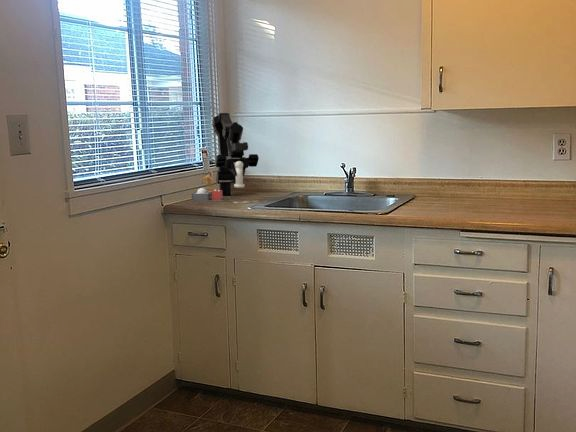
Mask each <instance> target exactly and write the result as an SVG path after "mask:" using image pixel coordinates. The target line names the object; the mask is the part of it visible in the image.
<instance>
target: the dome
mask: <svg viewBox="0 0 576 432" xmlns="http://www.w3.org/2000/svg"><path fill="white" fill-rule="evenodd" d="M208 192H209V191H207V189H206V188H205V187H201V188H198V189H197V193H195V194H208Z"/></svg>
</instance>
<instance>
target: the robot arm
mask: <svg viewBox="0 0 576 432" xmlns="http://www.w3.org/2000/svg"><path fill="white" fill-rule="evenodd" d="M217 114H218V115H215V116H214V117H213V119H212V123H211V124H212V125H211V126H212V128H213V132H214V133H215V135H216V136H217V141H218V150H219V152H218V153H219V154H216V156H215V160H214V161H215V163H214V165H215V168H217V171H216V175H215V182H216V183H217V184H216V183H215V184H216V185H219V190H222V196H223V197H232V196H233V195H234V193H232V184H236V175H237V174H236V167H235V163H236V162H237V161H241V162H242V163H243V177H244V176H245V174H246V169H248V168H249V167H257V166H258V162H259V158H260V157H259V155H258V154H256V153H250V154H248V157H245V156H244V155H245V153H244V151H248V150H249V144H248V142H245V141H244V142H240V141H241V140H242V135H243V131H244V127H243V126H242V124H239V123H238V122H237V121H236V122H235V121H232V119H231V116H230V113H229V112H220V113H217Z"/></svg>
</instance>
